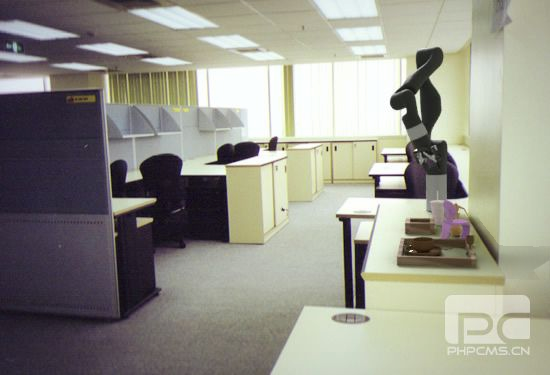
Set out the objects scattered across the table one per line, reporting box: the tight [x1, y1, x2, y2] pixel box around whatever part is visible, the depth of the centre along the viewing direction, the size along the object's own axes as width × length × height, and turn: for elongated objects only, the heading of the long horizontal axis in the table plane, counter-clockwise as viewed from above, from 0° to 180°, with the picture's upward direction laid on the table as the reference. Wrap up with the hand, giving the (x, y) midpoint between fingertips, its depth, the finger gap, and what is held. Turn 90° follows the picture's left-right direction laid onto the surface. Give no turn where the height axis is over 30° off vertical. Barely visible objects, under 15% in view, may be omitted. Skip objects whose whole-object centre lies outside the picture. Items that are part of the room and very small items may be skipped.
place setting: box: [404, 234, 476, 257], centre depth 161 cm, size 18×20×6 cm
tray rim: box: [396, 237, 477, 268], centre depth 161 cm, size 25×22×2 cm
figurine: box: [444, 202, 469, 237], centre depth 186 cm, size 8×6×12 cm
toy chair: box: [439, 199, 471, 239], centre depth 176 cm, size 8×9×15 cm
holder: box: [404, 217, 436, 235], centre depth 197 cm, size 11×11×4 cm
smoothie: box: [430, 191, 445, 226], centre depth 205 cm, size 6×6×14 cm
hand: (434, 170), depth 211 cm, fingers open, 8 cm apart
